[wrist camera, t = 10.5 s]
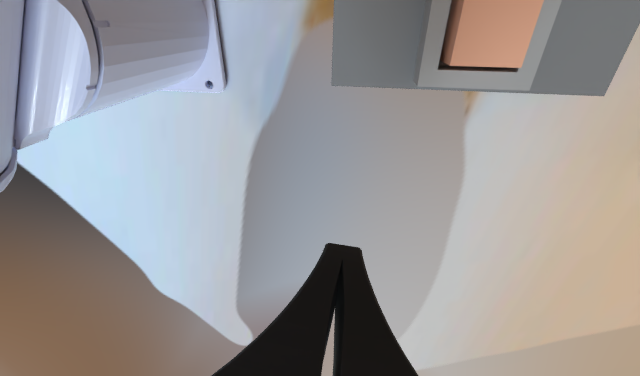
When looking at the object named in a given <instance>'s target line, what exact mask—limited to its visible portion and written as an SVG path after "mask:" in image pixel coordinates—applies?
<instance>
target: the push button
mask: <svg viewBox="0 0 640 376" xmlns="http://www.w3.org/2000/svg"><path fill="white" fill-rule="evenodd" d="M543 2H544V0H452V3H451V8H450V13H449V18H448V23H447V28H446V33H445V38H444V43H443V48H442V53H441V58H440V61H442V62H444V63H446V64H448V65H450V66H476V67H509V68H521V67H522V64H523V61H524V58H525V55H526V52H527V49H528V47H529V44H530V41H531V38H532V35H533V32H534V29H535V26H536V23H537V20H538V17H539V14H540V11H541V8H542V5H543Z"/></svg>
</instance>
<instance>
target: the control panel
mask: <svg viewBox="0 0 640 376" xmlns="http://www.w3.org/2000/svg"><path fill="white" fill-rule="evenodd" d="M451 3H452V0H334V21H333V53H332V86H353V87H379V88H406V89H431V90H458V91H483V92H509V93H535V94H561V95H587V96H604V95H605V93H606V91H607V89H608V87H609V85H610V83H611V81H612V79H613V77H614V75H615V73H616V71H617V69H618V67H619V64H620V62H621V60H622V58H623V56H624V54H625V52H626V50H627V48H628V46H629V44H630V42H631V40H632V38H633V36H634V34H635V32H636V30H637V28H638V26H639V24H640V0H544V2H543V5H542V8H541V11H540V14H539V17H538V20H537V23H536V26H535V29H534V32H533V35H532V38H531V41H530V44H529V47H528V49H527V52H526V55H525V58H524V61H523V64H522V67H521V68H509V67H476V66H450V65H448V64H446V63H444V62H442V61H440V58H441V53H442V48H443V43H444V38H445V33H446V28H447V23H448V18H449V13H450V8H451Z"/></svg>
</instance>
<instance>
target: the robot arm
mask: <svg viewBox="0 0 640 376" xmlns="http://www.w3.org/2000/svg"><path fill="white" fill-rule="evenodd" d="M208 81H211V82H212V84H213V88H211V87H210V86H209V85H208ZM225 89H226V79H225V72H224V65H223V58H222V51H221V44H220V37H219V30H218V23H217V16H216V9H215V2H214V0H0V192H1V191H3V190H4V189H5V188H6V186H7V185H8V184H9V182H10V181H11V180H12V178H13V176H14V173H15V171H16V168H17V150H19V149H22V148H24V147H27V146H30V145H32V144H35V143H38V142H40V141H43V140H46V139H48V136H49V133H50V131H51V130H52V128H53V127H55V126H56V125H58V124H61V123H64V122H67V121H70V120H72V119H75V118H78V117H81V116H84V115H87V114H90V113H93V112H95V111H98V110H101V109H104V108H107V107H110V106H113V105H116V104H119V103H122V102H125V101H128V100H130V99H133V98H136V97H139V96H142V95H145V94H148V93H151V92H154V91H157V90H161V91H184V92H207V93H221V92H223V91H224V90H225ZM16 149H17V150H16ZM334 309H335V329H334V331H335V332H334V364H333V376H418V375H417V373H416V371H415V370H414V368H413V367H412V365H411V363H410V362H409V360H408V359H407V357H406V356H405V354H404V352H403V351H402V349H401V347H400V345H399V344H398V342H397V340H396V338H395V336H394V335H393V333H392V331H391V329H390V327H389V325H388V323H387V321H386V319H385V317H384V315H383V313H382V310H381V308H380V306H379V304H378V301H377V299H376V297H375V294H374V291H373V289H372V286H371V283H370V281H369V278H368V275H367V271H366V268H365V264H364V260H363V256H362V250H361V249H360V248H358V247H351V246H345V245H339V244H332V243H328V244H326V245H325V248H324V250H323V253H322V255H321V257H320V259H319V261H318V262H317V264H316V266H315V268H314V269H313V271H312V272H311V274H310V275H309V277H308V279H307V280H306V282H305V283H304V284H303V286H302V287H301V288H300V290H299V291H298V292H297V294H296V295H295V296H294V298H293V299H292V300H291V302H290V303H289V304H288V305H287V306H286V308H285V309H284V310H283V311H282V312H281V313H280V314H279V315H278V317H277V318H276V319H275V320H274V321H273V322H272V323H271V324H270V325H269V326H268V327H267V328H266V329H265V330H264V331H263V332H262V333H261V334H260V335H259V336H258V337H257V338H256V339H255V340H254V341H253V342H251V343H250V344H249V345H248V346H247V347H246V348H245V349H244V350H242V352H240V353H239V354H238V355H237V356H236V357H234V359H232V360H231V361H230V362H228V363H227V364H226V365H225V366H223V367H222V368H221V369H219V370H218V371H217V372H216V373H214V374H213V375H212V376H321V372H322V364H323V359H324V355H325V350H326V345H327V341H328V337H329V332H330V328H331V323H332V319H333V314H334Z"/></svg>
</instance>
